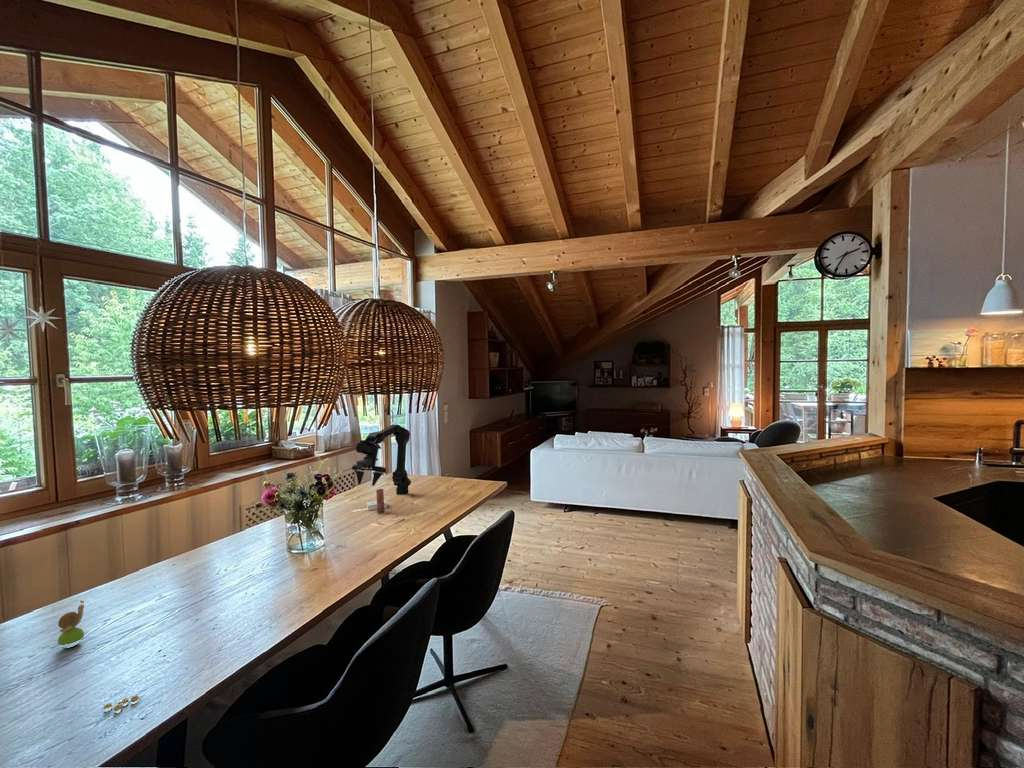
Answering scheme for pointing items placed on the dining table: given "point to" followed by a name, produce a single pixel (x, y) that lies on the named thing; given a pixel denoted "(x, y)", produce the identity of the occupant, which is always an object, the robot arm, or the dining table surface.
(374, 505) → the block
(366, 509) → the subfloor panel
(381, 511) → the joystick
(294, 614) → the dining table surface
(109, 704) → the dice set
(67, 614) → the snail figurine
